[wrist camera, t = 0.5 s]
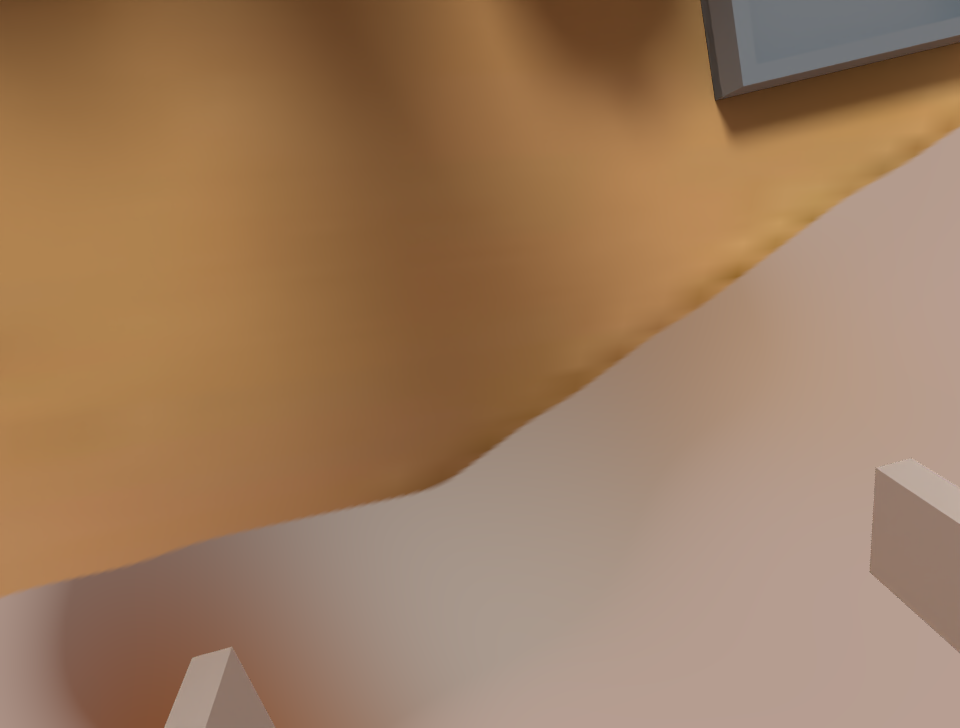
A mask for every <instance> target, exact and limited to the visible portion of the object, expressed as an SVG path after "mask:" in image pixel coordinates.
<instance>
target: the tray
mask: <svg viewBox="0 0 960 728" xmlns="http://www.w3.org/2000/svg"><path fill="white" fill-rule="evenodd" d="M701 6H702V13H703V20H704V26H705V33H706V40H707V47H708V54H709V61H710V67H711V74H712V81H713V88H714V95H715V100H720V99H724V98H728V97H732V96H736V95H740V94H745V93H749V92H753V91H757V90H761V89H766V88H770V87H774V86H778V85H782V84H786V83H791V82H795V81H799V80H803V79H807V78H811V77H816V76H820V75H824V74H828V73H832V72H837V71H841V70H845V69H849V68H853V67H857V66H862V65H866V64H870V63H874V62H878V61H882V60H887V59H891V58H895V57H899V56H903V55H908V54H912V53H916V52H920V51H924V50H928V49H933V48H937V47H941V46H945V45H949V44H953V43H958V42H960V0H701Z"/></svg>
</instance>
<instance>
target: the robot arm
mask: <svg viewBox="0 0 960 728" xmlns="http://www.w3.org/2000/svg"><path fill="white" fill-rule="evenodd" d="M871 541H872V542H871V559H870V573H871V574H872V575H874V576H875V577H876V578H877V579H878V580H879V581H880V582H881V583H882V584H883V585H885V586H886V587H887V588H888V589H889V590H890V591H891V592H893V594H895V595H896V596H897V597H898V598H899V599H900V600H901V601H902V602H904V603H905V604H906V605H907V606H908V607H909V608H910V609H911V610H912V611H914V612H915V613H916V614H917V615H918V616H919V617H920V618H922V620H924V621H925V622H926V623H927V624H928V625H929V626H930V627H931V628H932V629H934V630H935V631H936V632H937V633H938V634H939V635H940V636H941V637H943V638H944V639H945V640H946V641H947V642H948V643H949V644H950V645H951V646H953V647H954V648H955V649H956V650H957V651H958V652H960V487H958V486H957V485H955V484H953V483H952V482H950V481H948V480H947V479H945V478H944V477H942V476H940V475H939V474H937V473H935V472H933V471H931V470H930V469H928V468H927V467H925V466H924V465H922V464H920V463H919V462H917V461H915V460H914V459H912V458H909V459H905V460H902V461H898V462H895V463H891V464H888V465H884V466H880V467H877V468H876V471H875V488H874V506H873V523H872V540H871ZM165 728H275V726H274V724H273V722H272V720H271V719H270V717H269V715H268V713H267V711H266V710H265V708H264V706H263V704H262V702H261V700H260V698H259V696H258V694H257V692H256V690H255V689H254V687H253V685H252V683H251V681H250V679H249V677H248V675H247V674H246V672H245V670H244V668H243V666H242V664H241V663H240V661H239V659H238V657H237V655H236V653H235V651H234V649H233V647H230V648H226V649H222V650H219V651H215V652H211V653H208V654H204V655H200V656H197V657H193V658H192V660H191V662H190V665H189V668H188V670H187V672H186V675H185V677H184V680H183V682H182V685H181V687H180V690H179V692H178V695H177V698H176V700H175V702H174V705H173V707H172V710H171V712H170V715H169V717H168V720H167V722H166V725H165Z"/></svg>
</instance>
